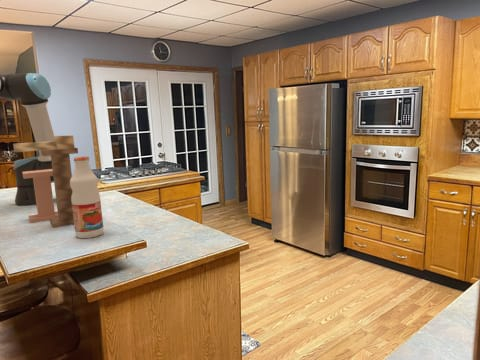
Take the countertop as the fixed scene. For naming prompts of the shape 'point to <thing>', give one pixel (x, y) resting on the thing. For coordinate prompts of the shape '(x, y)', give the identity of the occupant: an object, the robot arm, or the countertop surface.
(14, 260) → the countertop surface
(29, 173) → the terracotta stand
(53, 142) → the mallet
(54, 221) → the walnut stand
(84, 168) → the fruit juice
